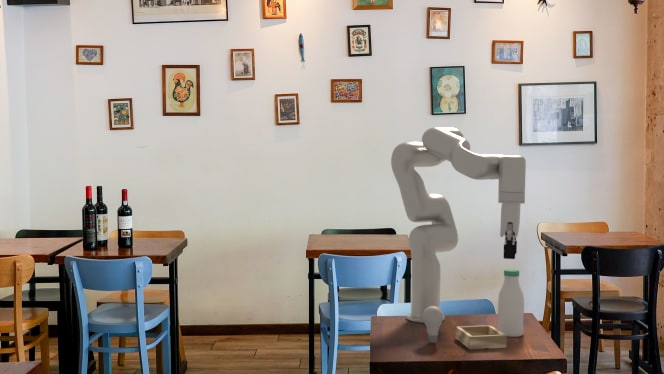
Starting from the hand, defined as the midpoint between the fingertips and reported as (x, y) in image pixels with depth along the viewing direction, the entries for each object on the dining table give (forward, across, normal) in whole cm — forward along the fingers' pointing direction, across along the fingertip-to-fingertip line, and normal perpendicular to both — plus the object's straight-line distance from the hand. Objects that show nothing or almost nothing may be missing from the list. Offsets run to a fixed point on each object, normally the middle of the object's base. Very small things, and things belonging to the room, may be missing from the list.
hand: (510, 256), depth 210 cm
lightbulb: (+26, +7, -21) cm, 34 cm away
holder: (+26, +3, -8) cm, 27 cm away
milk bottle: (+26, -10, 0) cm, 28 cm away
